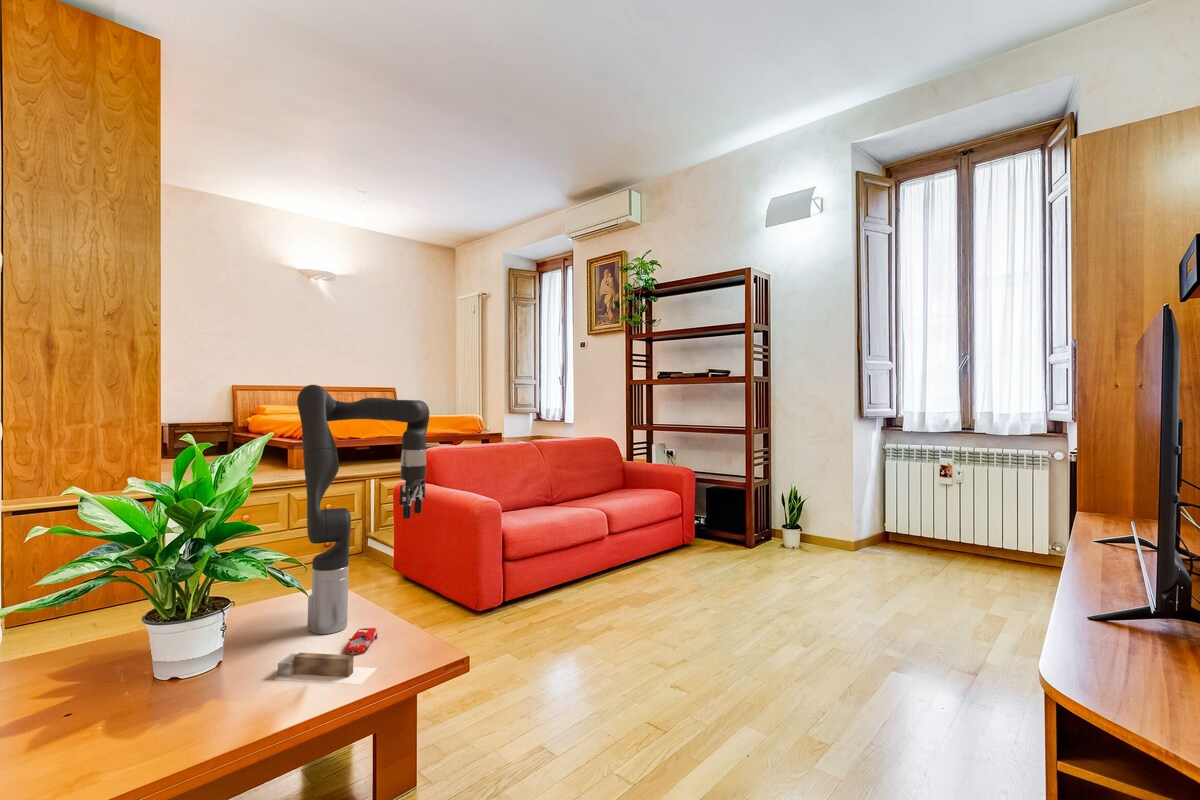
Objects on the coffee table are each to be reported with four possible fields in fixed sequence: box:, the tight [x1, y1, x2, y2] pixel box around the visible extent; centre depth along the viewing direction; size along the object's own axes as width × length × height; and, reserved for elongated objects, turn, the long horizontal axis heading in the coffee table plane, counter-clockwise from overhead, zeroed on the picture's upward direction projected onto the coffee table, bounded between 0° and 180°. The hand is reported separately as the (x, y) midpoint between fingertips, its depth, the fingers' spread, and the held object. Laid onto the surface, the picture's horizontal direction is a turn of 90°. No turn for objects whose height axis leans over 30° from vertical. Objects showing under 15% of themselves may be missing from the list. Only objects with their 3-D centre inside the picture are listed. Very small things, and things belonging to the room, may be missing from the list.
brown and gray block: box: [277, 652, 354, 677], centre depth 133 cm, size 16×5×4 cm, turn 85°
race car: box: [344, 627, 378, 657], centre depth 149 cm, size 13×5×4 cm, turn 3°
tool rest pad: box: [274, 666, 378, 686], centre depth 133 cm, size 20×8×1 cm, turn 85°
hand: (412, 515), depth 180 cm, fingers open, 8 cm apart
